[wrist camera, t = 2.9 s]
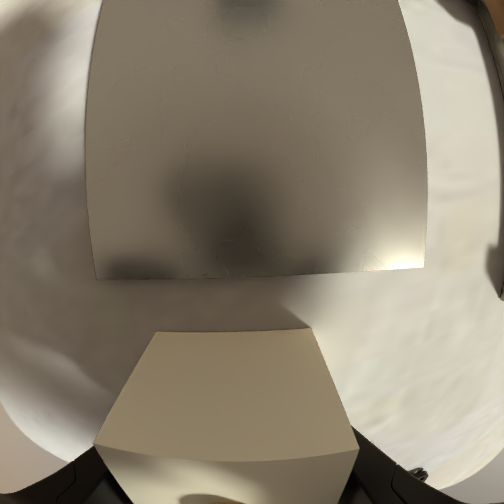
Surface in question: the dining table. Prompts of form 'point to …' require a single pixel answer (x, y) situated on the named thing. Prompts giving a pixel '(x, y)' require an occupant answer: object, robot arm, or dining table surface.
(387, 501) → the robot arm
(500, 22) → the brown block
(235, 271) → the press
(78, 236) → the dining table surface
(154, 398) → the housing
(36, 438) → the dining table surface
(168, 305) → the dining table surface
